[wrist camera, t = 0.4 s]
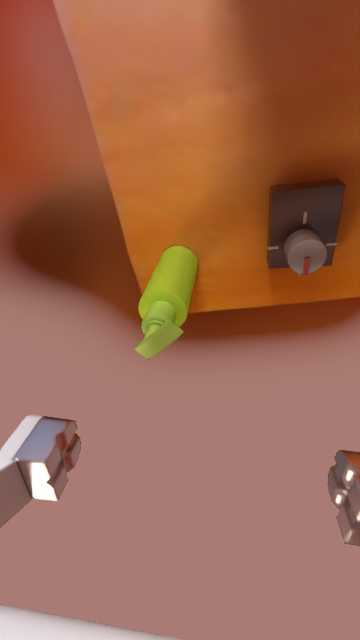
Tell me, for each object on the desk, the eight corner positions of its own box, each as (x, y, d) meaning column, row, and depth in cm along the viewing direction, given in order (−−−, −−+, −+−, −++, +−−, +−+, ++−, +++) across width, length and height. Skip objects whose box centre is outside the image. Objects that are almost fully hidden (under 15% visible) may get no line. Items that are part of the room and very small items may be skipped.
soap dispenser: (211, 260, 45) (197, 348, 29) (179, 287, 48) (152, 378, 32) (183, 232, 43) (152, 309, 27) (152, 262, 46) (109, 346, 30)
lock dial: (285, 230, 38) (289, 241, 35) (322, 227, 37) (330, 238, 34) (282, 262, 40) (286, 275, 37) (317, 260, 39) (324, 274, 36)
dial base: (267, 186, 38) (269, 192, 35) (341, 178, 36) (349, 184, 34) (264, 267, 44) (266, 277, 42) (326, 264, 43) (332, 274, 40)
